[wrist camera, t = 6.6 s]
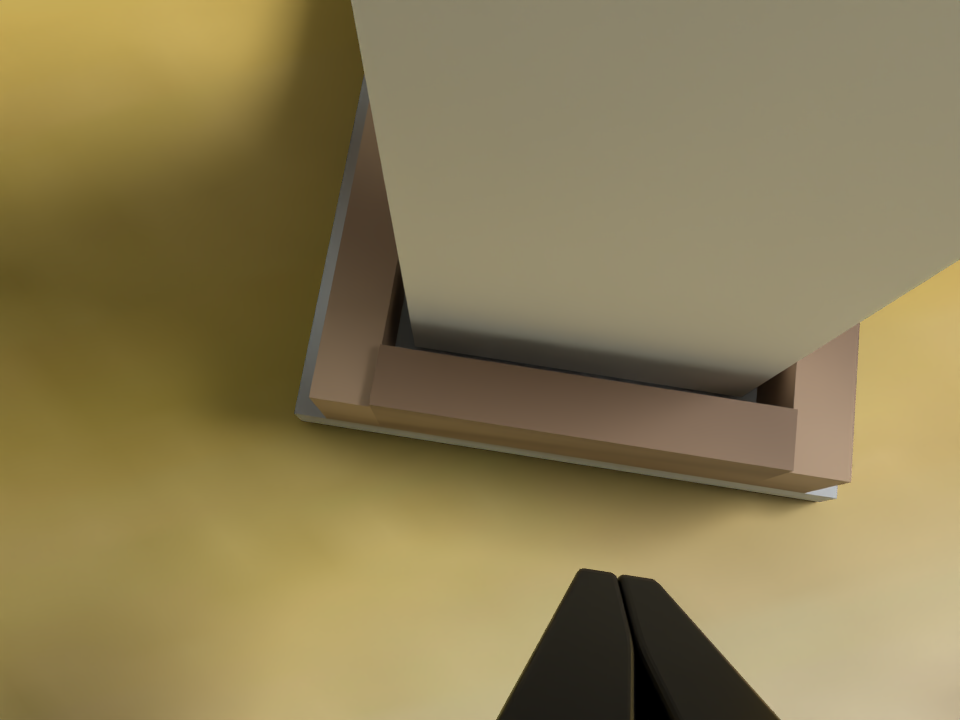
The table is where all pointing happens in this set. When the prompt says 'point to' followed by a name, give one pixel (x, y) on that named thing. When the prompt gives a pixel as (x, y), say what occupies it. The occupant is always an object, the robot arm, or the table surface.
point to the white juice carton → (663, 175)
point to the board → (552, 381)
